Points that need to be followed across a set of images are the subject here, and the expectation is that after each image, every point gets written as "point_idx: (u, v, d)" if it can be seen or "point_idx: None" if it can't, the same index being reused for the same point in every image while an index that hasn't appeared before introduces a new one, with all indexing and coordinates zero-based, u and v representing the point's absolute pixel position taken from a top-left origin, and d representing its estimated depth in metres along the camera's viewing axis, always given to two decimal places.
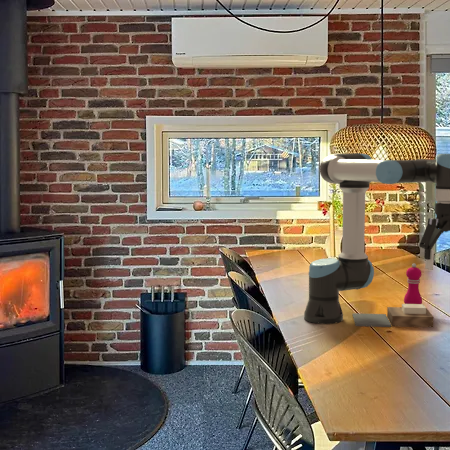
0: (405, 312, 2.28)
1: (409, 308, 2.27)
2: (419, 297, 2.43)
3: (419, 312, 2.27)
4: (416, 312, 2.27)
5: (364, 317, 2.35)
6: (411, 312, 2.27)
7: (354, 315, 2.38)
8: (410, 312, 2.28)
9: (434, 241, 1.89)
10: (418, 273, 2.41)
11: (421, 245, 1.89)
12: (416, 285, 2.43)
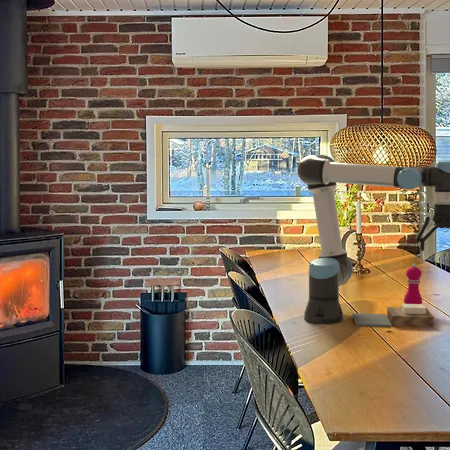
0: (405, 312, 2.28)
1: (409, 308, 2.27)
2: (419, 297, 2.43)
3: (419, 312, 2.27)
4: (416, 312, 2.27)
5: (364, 317, 2.35)
6: (411, 312, 2.27)
7: (354, 315, 2.38)
8: (410, 312, 2.28)
9: (427, 235, 2.23)
10: (418, 273, 2.41)
11: (415, 238, 2.25)
12: (416, 285, 2.43)
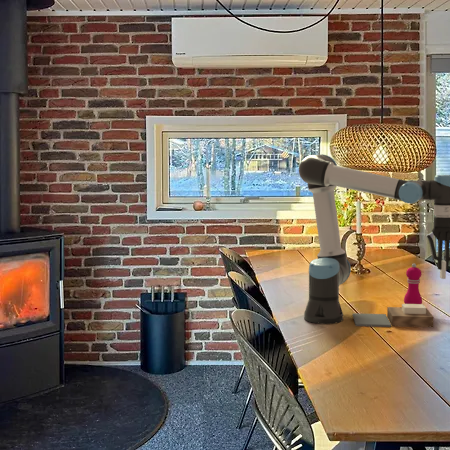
0: (405, 312, 2.28)
1: (409, 308, 2.27)
2: (419, 297, 2.43)
3: (419, 312, 2.27)
4: (416, 312, 2.27)
5: (364, 317, 2.35)
6: (411, 312, 2.27)
7: (354, 315, 2.38)
8: (410, 312, 2.28)
9: (440, 253, 2.25)
10: (418, 273, 2.41)
11: (433, 258, 2.27)
12: (416, 285, 2.43)
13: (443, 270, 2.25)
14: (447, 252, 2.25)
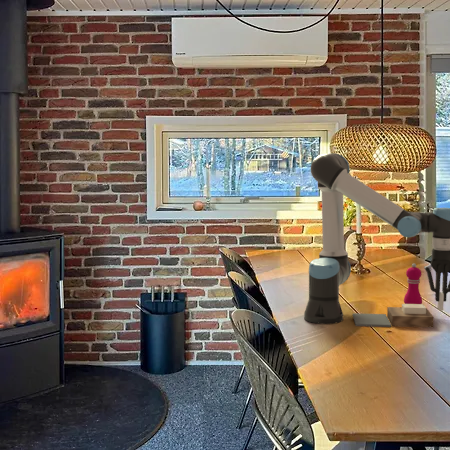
0: (405, 312, 2.28)
1: (409, 308, 2.27)
2: (419, 297, 2.43)
3: (419, 312, 2.27)
4: (416, 312, 2.27)
5: (364, 317, 2.35)
6: (411, 312, 2.27)
7: (354, 315, 2.38)
8: (410, 312, 2.28)
9: (438, 285, 2.27)
10: (418, 273, 2.41)
11: (431, 289, 2.29)
12: (416, 285, 2.43)
13: (441, 302, 2.27)
14: (445, 284, 2.26)
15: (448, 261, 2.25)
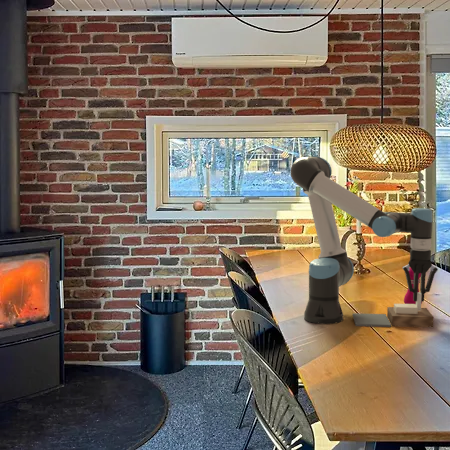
0: (397, 311, 2.28)
1: (401, 308, 2.28)
2: None
3: (411, 312, 2.28)
4: (408, 312, 2.28)
5: (364, 317, 2.35)
6: (403, 312, 2.28)
7: (354, 315, 2.38)
8: (402, 312, 2.28)
9: (416, 285, 2.28)
10: None
11: (409, 289, 2.30)
12: None
13: (419, 302, 2.28)
14: (423, 284, 2.27)
15: (426, 261, 2.26)
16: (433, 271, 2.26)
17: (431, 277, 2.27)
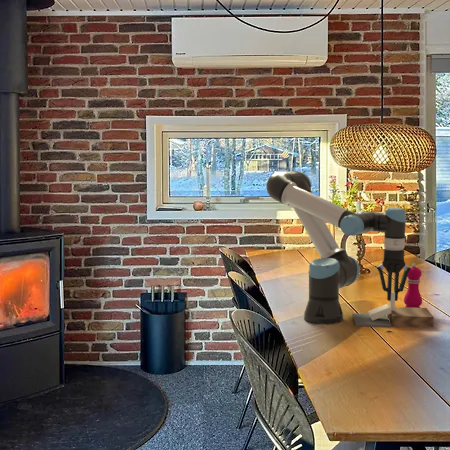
0: (372, 319, 2.30)
1: (374, 314, 2.29)
2: (419, 297, 2.43)
3: (385, 313, 2.29)
4: (382, 315, 2.29)
5: (364, 317, 2.35)
6: (378, 317, 2.29)
7: (354, 315, 2.38)
8: (377, 317, 2.29)
9: (389, 284, 2.29)
10: (418, 273, 2.41)
11: None
12: (416, 285, 2.43)
13: (392, 302, 2.30)
14: (396, 284, 2.29)
15: (399, 261, 2.28)
16: (406, 271, 2.28)
17: (404, 276, 2.28)
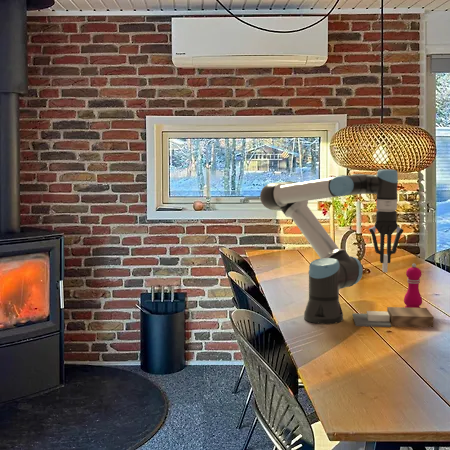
0: (369, 319, 2.30)
1: (373, 315, 2.29)
2: (419, 297, 2.43)
3: (383, 319, 2.29)
4: (380, 319, 2.29)
5: (364, 317, 2.35)
6: (375, 319, 2.29)
7: (354, 315, 2.38)
8: (374, 319, 2.29)
9: (382, 247, 2.28)
10: (418, 273, 2.41)
11: (375, 251, 2.30)
12: (416, 285, 2.43)
13: (385, 264, 2.28)
14: (389, 246, 2.27)
15: (392, 223, 2.26)
16: (399, 232, 2.26)
17: (397, 238, 2.26)
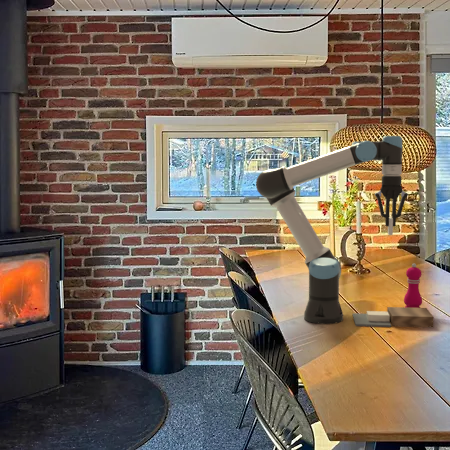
0: (369, 319, 2.30)
1: (373, 315, 2.29)
2: (419, 297, 2.43)
3: (383, 319, 2.29)
4: (380, 319, 2.29)
5: (364, 317, 2.35)
6: (375, 319, 2.29)
7: (354, 315, 2.38)
8: (374, 319, 2.29)
9: (387, 210, 2.37)
10: (418, 273, 2.41)
11: (381, 215, 2.39)
12: (416, 285, 2.43)
13: (390, 227, 2.38)
14: (394, 209, 2.37)
15: (397, 187, 2.35)
16: (404, 196, 2.36)
17: (402, 202, 2.36)
